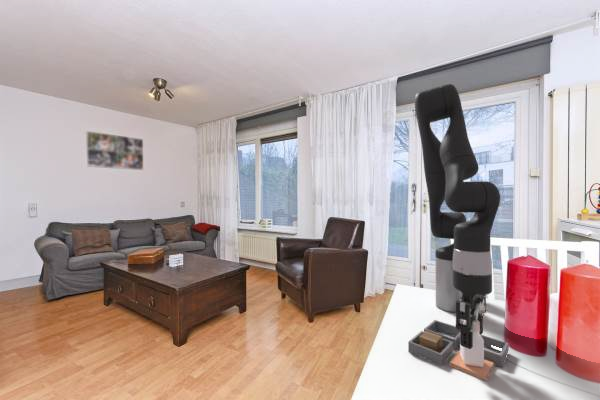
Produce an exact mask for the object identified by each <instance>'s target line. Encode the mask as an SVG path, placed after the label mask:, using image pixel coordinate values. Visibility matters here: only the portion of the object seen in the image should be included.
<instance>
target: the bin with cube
mask: <svg viewBox="0 0 600 400" xmlns="http://www.w3.org/2000/svg"><path fill="white" fill-rule="evenodd" d="M423 333H424V330H421V331H419V332H418V333H417V334H416V335H415V336H414V337H412V338H411V339H410V340H409V341H407V342H408V345H407V346H408V347H407V348H408V352H409V353H410V354H413V355H415V356H418V357H420V358H422V359H425V360H427V361H428V362H432V363H434V364H437V365H439V366H443V365H444V364H445V362H446V361H448V360H449V358H450V357H451V356H452V354H453V353H454V349H453V342H451V341H448V340H446V339H443V338H442V352H441V353H438V352H436V351H433V350H431V349H428V348H426V347H423V346H421V345H419V336H420V335H422V334H423Z"/></svg>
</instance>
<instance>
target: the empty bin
mask: <svg viewBox="0 0 600 400" xmlns="http://www.w3.org/2000/svg"><path fill="white" fill-rule="evenodd" d="M425 331H428V332H430V333H433V334H436V335H439V336H442V338H443V339H446V340H448V341H451V342H453V350H454V351H455V350H457V349H458V347H460V329H456V325H453V324H452V325H451V324H449V323H445V322H443V321H439V320H436V319H434V320H433V321H432V322H430V323H429V324H428V325H427V326H426V327H424V329H423V332H425ZM436 331H438V332H436ZM439 332H442V333H444V334H445V335H444V334H442V333H439ZM446 334H448V335H451V336H454V337H450V336H448V335H446Z"/></svg>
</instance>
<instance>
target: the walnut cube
mask: <svg viewBox="0 0 600 400" xmlns="http://www.w3.org/2000/svg"><path fill="white" fill-rule="evenodd" d="M423 332H424V331H423ZM419 345H421V346H423V347H426V348H428V349H431V350H433V351H436V352H438V353H441V352H442V351H443V349H442V336H439V335H436V334H433V333H430V332H428V331H425V332H424V333H423V334H422V335H420V336H419Z"/></svg>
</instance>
